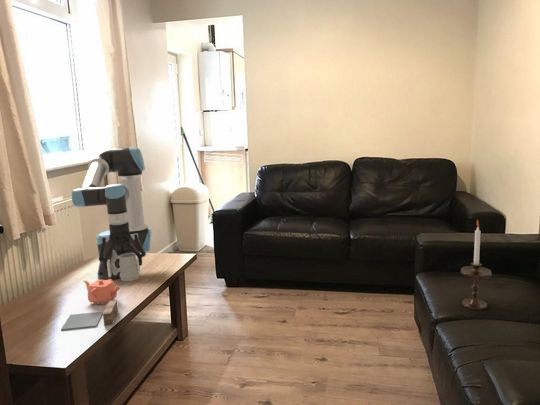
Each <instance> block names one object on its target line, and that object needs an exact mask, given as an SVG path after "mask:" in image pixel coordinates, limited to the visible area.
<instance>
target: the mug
mask: <svg viewBox="0 0 540 405" xmlns="http://www.w3.org/2000/svg"><path fill="white" fill-rule="evenodd" d="M116 259H119V261H120V262H119V266H120V268H119V269H117V268H116V267H115V261H116ZM136 259H137V256H136V255H135V254H134V253H126V254H122V255H120V256H117V253H116V251H115V250H113V251H112V258H111V264H110V266H111V271H112V273H113V274H114V275H117V273H119V272H120V278H119V279H120V280H121V281H122V282H132V281H136V280H138V279H139V277H140V276H139V275H140V274H139V273H138V269H137V260H136Z"/></svg>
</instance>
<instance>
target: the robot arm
mask: <svg viewBox="0 0 540 405" xmlns="http://www.w3.org/2000/svg"><path fill="white" fill-rule="evenodd" d="M145 167H146V166H145V162H144V157H143V154H142V151H141V149H140V148H139V147H131V146H130V147H121V148H120V147H118V148H107V149H103V150H101V151H98V152H97V153H96V154H94V155H93V156H92V157H91V158H90V159H89V162H88V164H87V172H86V174H85V177H84V180H83V182H82V185H81V187H80V188H75V189H73V190H72V192H71V202H72V205H73V206H74V207H76V208H81V207H82V208H85V207H86V208H87V207H95V206H106V209H107V220H108V223H109V224H108V228H109V229H107V230H105V231H102V232H100V233H98V234H97V236H96V245H97V250H98V261H99V265H98V269H97V273H96V274H97V279H98V280H109V279H112V281H113V280H117V279H121V278H120V272H119V273H117V275H114V274H113V273H112V271H111V266H110V264H111V258H112V251H113V250H115V251H116V253H117V256H120V255H122V254H126V253H134V254H135V255H136V260H137V269H138V273H139V275H141V267H142V266H143V258H144V257H146V254H147V253H148V252H150V251H151V246H152V229H149V227H148V225H147V224H146V223H145V219H144V217H145V216H144V209H143V198H142V190H141V189H142V188H141V182H140V181H141V180H140V177H141V176H142V175H143V171H145ZM109 173H117V177H119V178H120V180H121V183H113V184H112V183H111V184H108V185H106V186H102V185H103V181H104V179H105V176H106V175H107V174H109ZM119 262H120V261H119V259H116V261H115V267H116V268H117V269H119V268H120V266H119Z"/></svg>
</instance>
